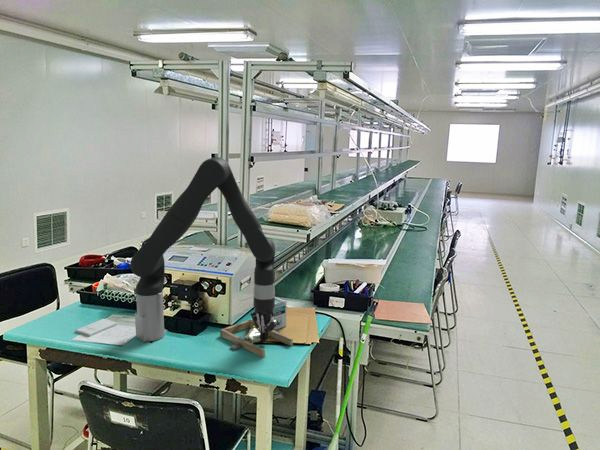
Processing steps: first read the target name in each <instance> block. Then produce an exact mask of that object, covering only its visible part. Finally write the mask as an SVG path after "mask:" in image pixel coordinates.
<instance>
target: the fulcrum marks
mask: <svg viewBox="0 0 600 450" xmlns="http://www.w3.org/2000/svg"><path fill="white" fill-rule="evenodd" d="M275 331H277V332H279V333H281V332H280V330H279V329H277V330H276V329H275ZM238 339H240V340H242V341H244V340H246V339H244V337H242V336H238ZM229 348H230V349H231V350H232V351H237V350H239V349H243V347H242V345H241V344H239V343H237V344H235V343H234V344H232V345H230V346H229Z"/></svg>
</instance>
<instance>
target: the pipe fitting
mask: <svg viewBox="0 0 600 450" xmlns="http://www.w3.org/2000/svg"><path fill="white" fill-rule="evenodd" d="M243 338H244V339H246V341H248V342H250V343H252V344H255V343H259V342H262V341H261V340H260V332H259V331H258V330H257V329H255V328H249V330H248V333H247V334H246V335H245V336H244V337H243Z"/></svg>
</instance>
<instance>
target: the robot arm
mask: <svg viewBox="0 0 600 450" xmlns="http://www.w3.org/2000/svg"><path fill="white" fill-rule="evenodd" d="M216 189H218V190H219V191H220V193H221V194H222V195H223V197H224V199H225V201H226V204H227V207H228V209H229V212H230V214H231V217H232V219H233V221H234V224H235V225H236V226H237V228H238V230H239V231H240V233H241V234H242V236H243V237H244V239H245V241H246V243H247V247H248V248H249V250H250V252H251V254H252V255H253V257H254V258H255V267H254V272H253V308H254V311H253V312H250V317H251V320H252V321H254V324H255V326H256V328H259V331H260V340H261V342H262V343H265V342H267V341H268V340H269V336H268V332H270V331H272V330H273V329H274V328H275V326H276V325H277V324H278V320H275V319H274V317H273V316H274V314H273V309H274V307H275V297H276V296H275V295H276V289H275V287H276V286H275V267H274V266H275V257H276V256H275V255H276V254H275V253H276V252H275V251H276V247H275V244H274V242H273V240H272V239H270V238H268V237H266V235H265V234H264V232H263V226H262V224H261V223H260V221H259V219H258V218H257V216H256V215H255V213H254V212H253V210H252V209H251V207H250V205H249V204H248V202H247V199H246V198H245V197H244V195H243V193H242V191H241V189H240V187H239V185H238V183H237V181H236V178H235V176H234V173H233V170H232V169H231V166H230V164H229V162H228V161H226V159H225V158H222V157H220V156H214V157H211V158H207V159H205V160H204V161H203V162H202V163H201V164H200V165H199V167H198V169H197V171H196V172H195V174H194V176H192V179H191V181H190V182H189V184H188V186H187V187H186V189H184V191H183V192H182V193H181V194H180V195H179V196H178V198H177V199H176V200H175V201H174V202H173V204H172V205H171V206H170V207H169V209H168V210H167V212H166V213H165V214H164V216H163V217H162V219H161V220H160V221H159V223H158V224H157V226H156V227H155V229H154V230H153V232H152V234H151V235H150V237H149V238H148V239H147V240H146V242H144V243H143V245H142V246H141V247H140V248H139V249H138V250H137V251H136V252H135V253H134V255H132V257H131V259H130V265H129V266H130V270H131V271H132V273H133V275H135V277H136V276H137V277H139V281H138V283H137V284H136V287H135V292H136V293H135V294H136V295H135V296H136V312H134V319H135V321H134V322H135V338H137V340H138V339H139V340H140V341H142V342H143V343H145V342H155V341H157V340H158V341H159V340H161V339H162V338H164V336H165V321H164V320H165V318H164V315H165V314H164V294H163V293H164V292H163V291H164V289H163V288H164V284H165V275H166V274H165V268H166V266H165V264H166V263H165V257H164V254H165V253H166V252H167V251H168V249H170V248H171V247H172V246H173V245H175V243H177V241H179V240H180V239H181V238H182V237H183V236H184V235H185V234H186V233H187V232H188V231H189V229H190V227H191V226H192V225H193V224H194V222H195V221H196V220H197V218H198V216H199V213H200V212H201V209H202V206H203V205H204V203H205V202H206V200H207V199H208V198H209V197H210V195H211V194H212V193H213V192H214V191H215V190H216ZM257 322H258V323H257Z"/></svg>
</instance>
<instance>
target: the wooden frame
mask: <svg viewBox="0 0 600 450" xmlns="http://www.w3.org/2000/svg"><path fill="white" fill-rule="evenodd" d="M253 326H255V324H254V321H253V319H248V320H245V321H242V322H239V323H236V324H233V325H230V326H227V327H224V328H222V329H220V332H219V334H220V337H221V338H223V339H226V340H228V341H229V342H232V343H233V344H234V345H235V344H237V343H239V344H241V345H242V349H245V350H247V351H249V352H250V353H253V354H254V355H256V356H258V357H260V358H265V357H266V350H265V348H263V347H260V346H258V345H256V344H255V343H253V344H252V343H250V342H248V341H246V340H244V341H242V340H240V339H238V337H239V336H238V335H237V334H234V333H237V332H241V331H242V330H243V331H244V330H246V329H253V328H255V329H257V330H258V331H259V329H258V328H256V326H255V327H253ZM259 332H260V331H259ZM268 337H270V338H272V339H274V340H277V341H279V342H280V343H283V344H285V345H288V346H290V347H292V346H293V345H294V339H293V337H290V336H288V335H285V334H283V333H281V332H280V333H279V332H277V331H275V330H272V331H270V332H268Z"/></svg>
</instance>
